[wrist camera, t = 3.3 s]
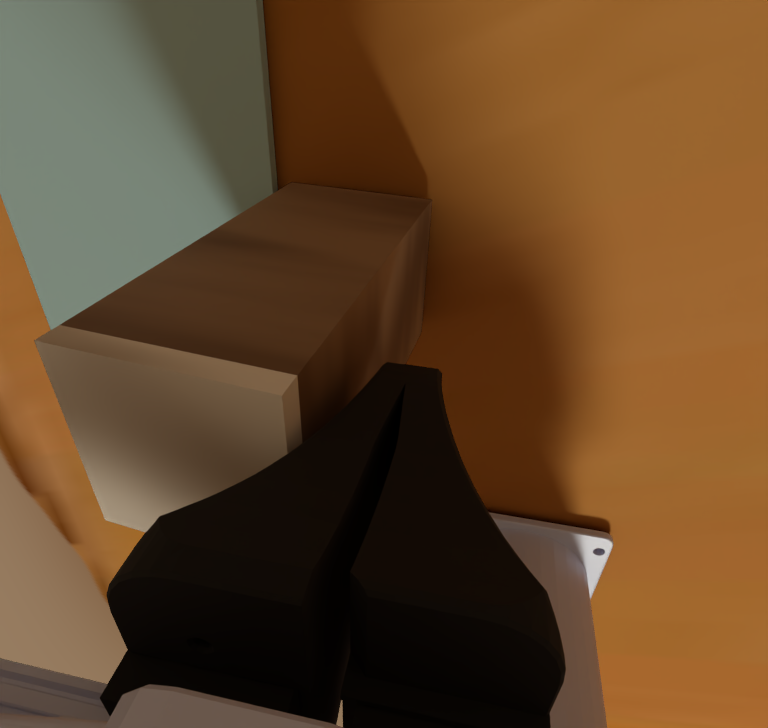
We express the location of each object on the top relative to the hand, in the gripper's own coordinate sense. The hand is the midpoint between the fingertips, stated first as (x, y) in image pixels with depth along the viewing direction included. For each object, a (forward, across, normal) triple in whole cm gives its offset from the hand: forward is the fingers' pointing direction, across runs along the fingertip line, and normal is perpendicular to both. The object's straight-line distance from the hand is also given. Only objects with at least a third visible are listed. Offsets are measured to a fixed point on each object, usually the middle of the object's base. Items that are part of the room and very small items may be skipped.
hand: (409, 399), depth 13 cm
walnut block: (+8, +3, 0) cm, 8 cm away
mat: (+8, +12, -1) cm, 14 cm away
